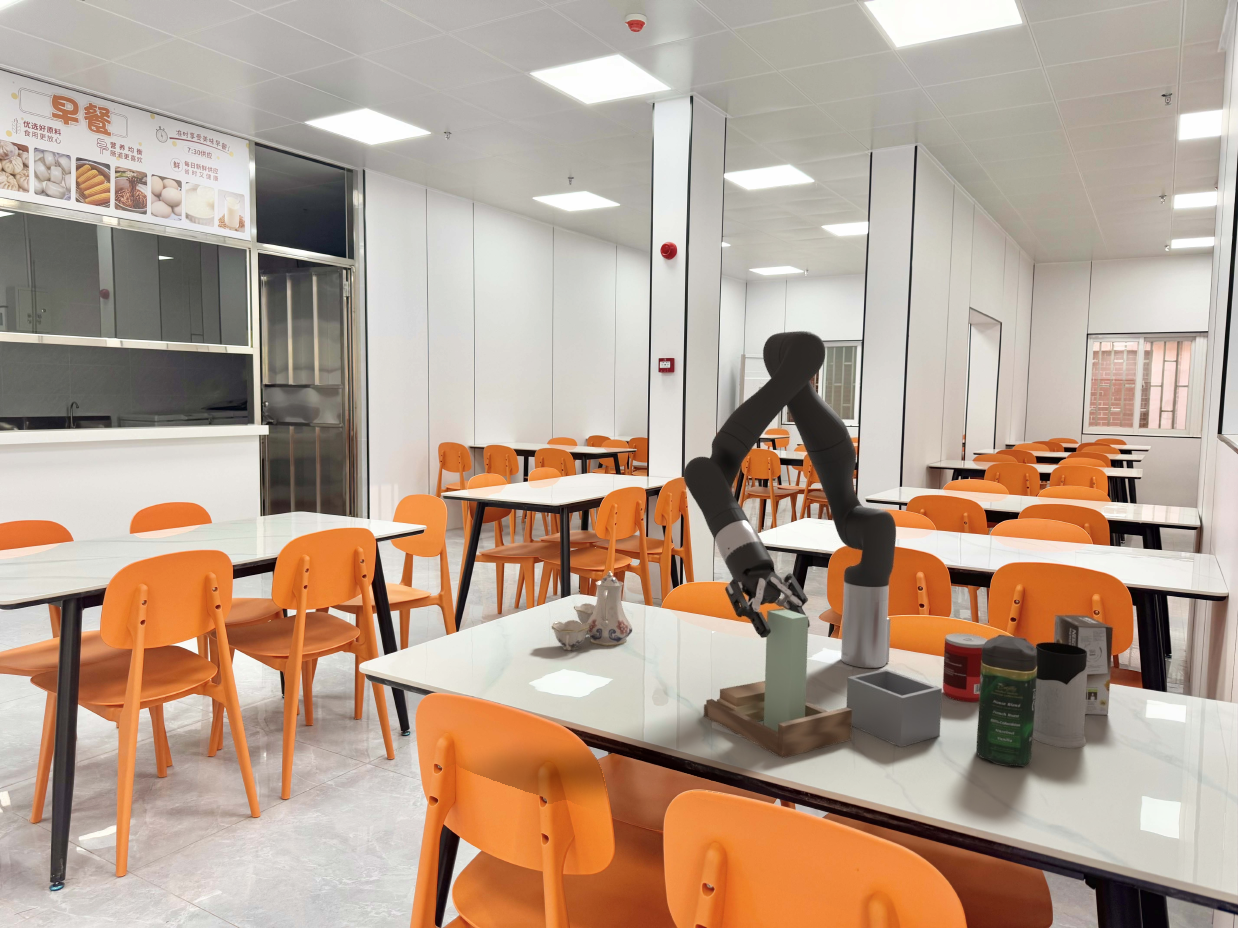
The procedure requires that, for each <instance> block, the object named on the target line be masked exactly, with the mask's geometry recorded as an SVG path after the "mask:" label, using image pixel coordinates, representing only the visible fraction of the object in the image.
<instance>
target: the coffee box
mask: <svg viewBox="0 0 1238 928" xmlns="http://www.w3.org/2000/svg"><path fill="white" fill-rule="evenodd" d="M1113 629H1114V627H1113V626H1111V625H1108V624H1107V623H1104V622H1102V621H1099V620H1097V619H1095V618H1093V617H1091V616H1088V615H1084V614H1082V615H1081V614H1065V615H1063V614H1062V615H1061V614H1054V635H1053V636H1054V638H1053V642H1054V643H1063V644H1069V645H1073V646H1077V647H1080V648H1083V649H1085V650H1086V651H1087V663H1086V667H1087V686H1086V704H1085V715H1101V716H1107V715H1109V709H1110V708H1109V705H1110V689H1111V688H1110V687H1111V686H1110V685H1111V672H1112V671H1111V669H1112V667H1111V666H1112V654H1113V653H1112V651H1113V650H1112V649H1113Z"/></svg>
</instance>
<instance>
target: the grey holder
mask: <svg viewBox="0 0 1238 928" xmlns="http://www.w3.org/2000/svg"><path fill="white" fill-rule="evenodd" d="M846 686H847V689H846V707H847V708H849V709H852V722H851V727H854V728H857V729H859V730H861V731H864V732H866V733H868V734H870V735H871V736H875V737H877V738H879V739H882V740H884V741H886V742H889V743H890V744H893V745H895V746H897V747H900V748H902V747H905V746H908V745H912V744H916V743H920V742H923V741H926V740H930V739H933V738H937V737H940V736H941V719H942V718H941V715H942V696H943V695H942V692H943V687H939V686H936V685H933V684H930V683H927V682H924V681H923V680H922V681H921V680H918V679H916V678H912V677H909V676H907V675H905V674H901V673H899V672H895V671H893V670H889V669H887V668H885V669H879V670H876V671H871V672H866V673H862V674H856V675H852V676H848V677H847V685H846Z"/></svg>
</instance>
